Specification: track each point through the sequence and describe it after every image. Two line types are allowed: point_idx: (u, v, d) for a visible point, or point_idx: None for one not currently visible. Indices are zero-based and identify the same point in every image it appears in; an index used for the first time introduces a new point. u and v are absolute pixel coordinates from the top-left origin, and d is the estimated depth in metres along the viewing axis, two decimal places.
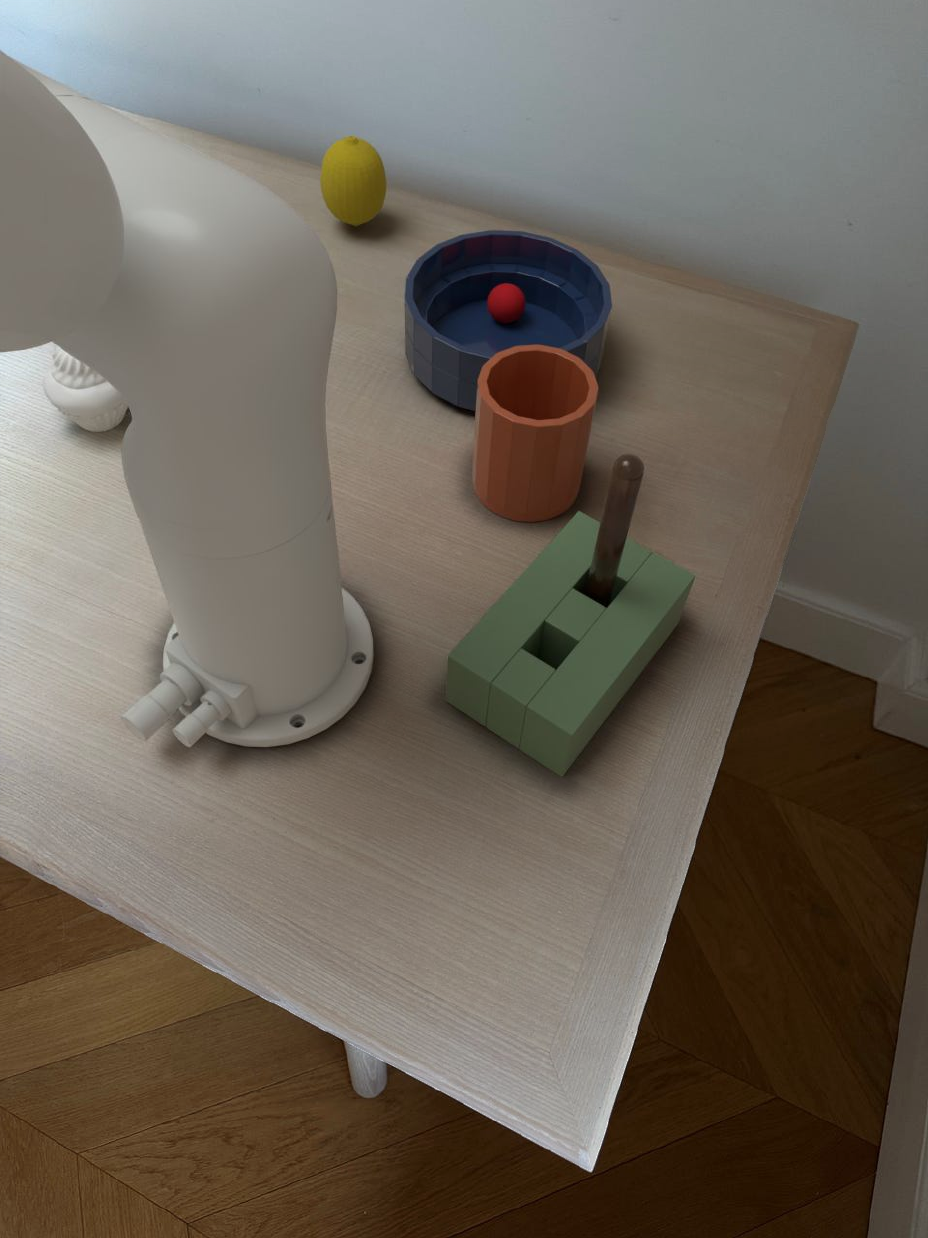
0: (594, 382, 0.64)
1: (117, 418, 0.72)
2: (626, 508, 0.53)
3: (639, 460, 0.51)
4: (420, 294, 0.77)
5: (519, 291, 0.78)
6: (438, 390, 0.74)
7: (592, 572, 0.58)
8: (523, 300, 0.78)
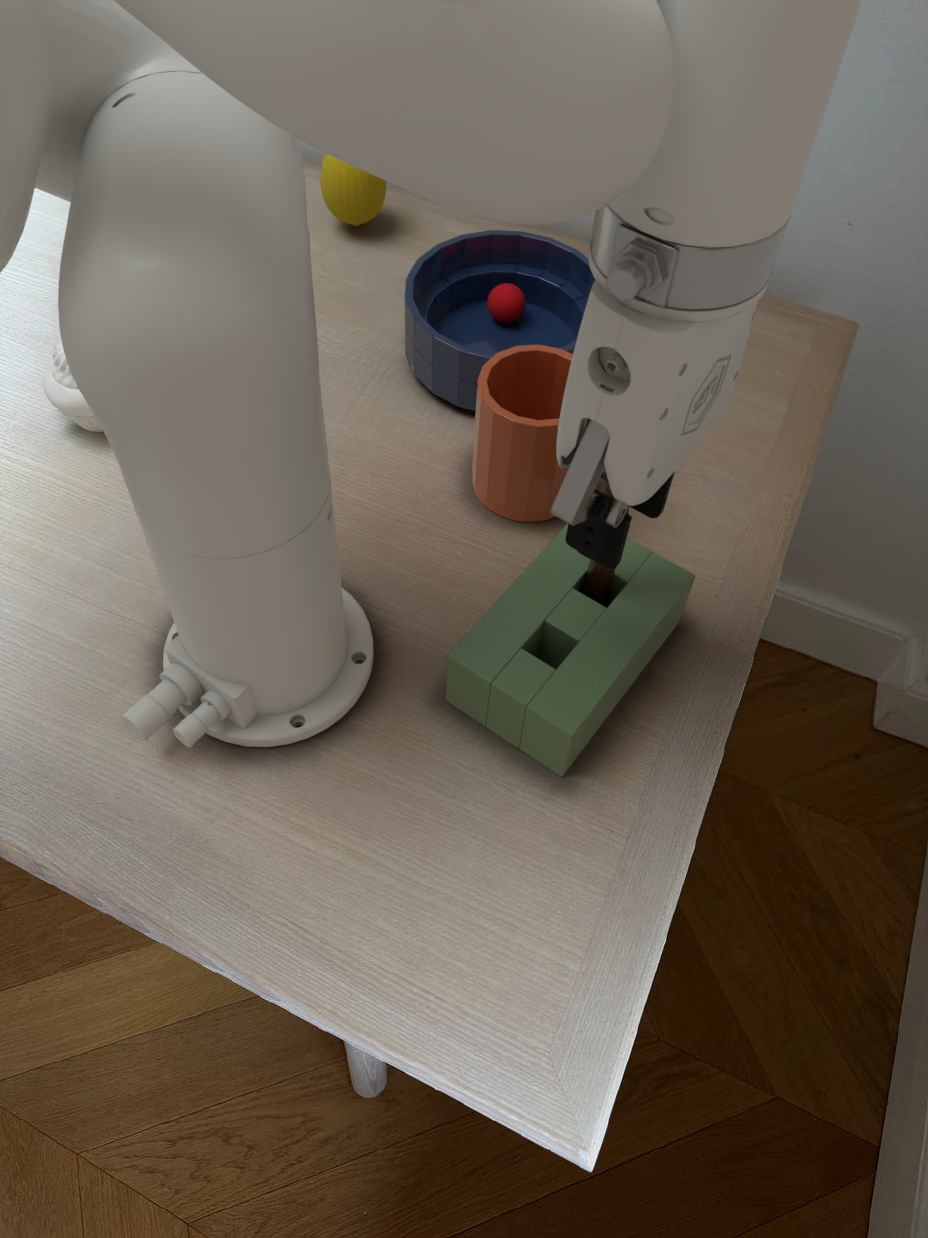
0: None
1: None
2: None
3: None
4: (420, 294, 0.77)
5: (519, 291, 0.78)
6: (438, 390, 0.74)
7: (591, 563, 0.59)
8: (523, 300, 0.78)
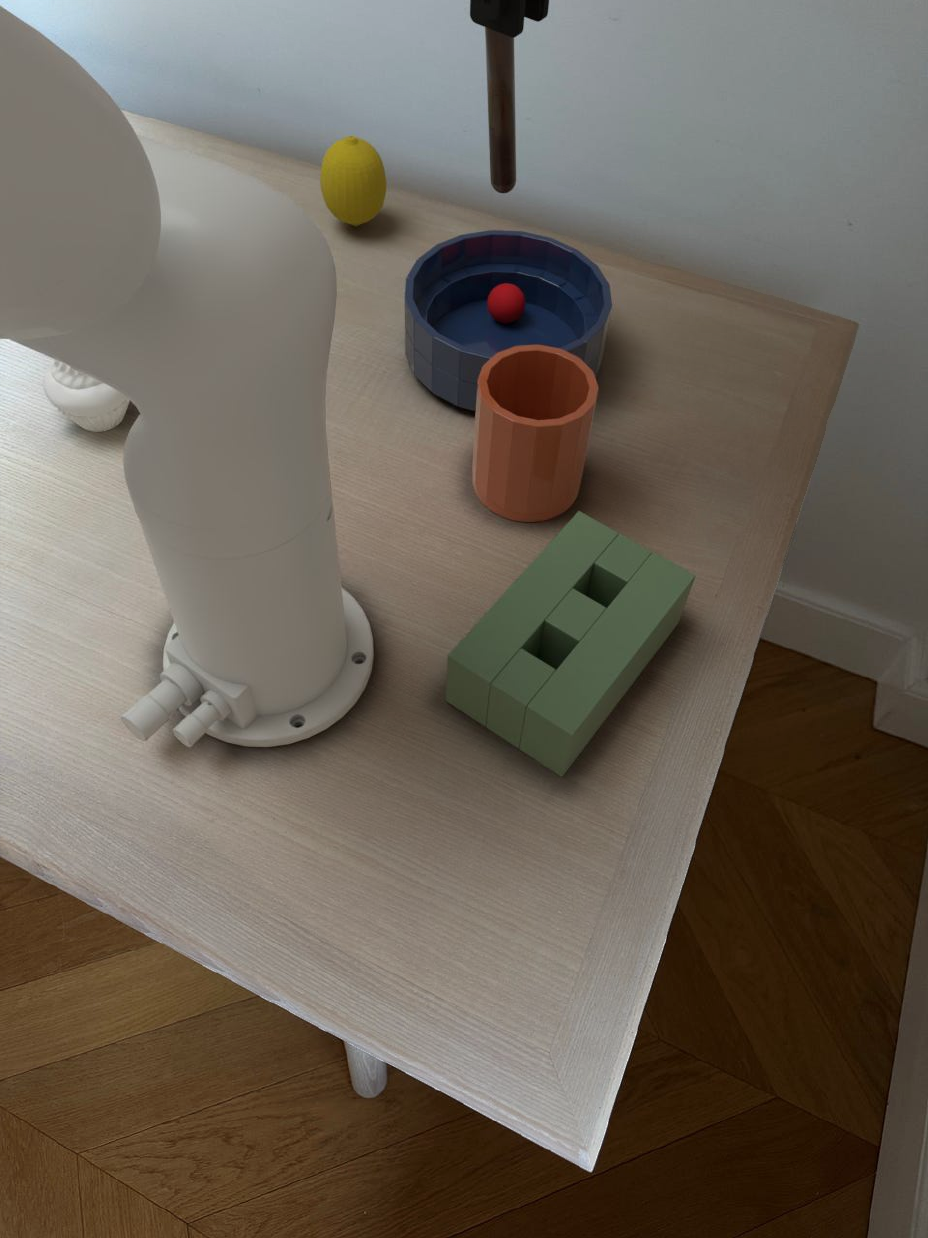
0: (594, 382, 0.64)
1: (117, 418, 0.72)
2: None
3: None
4: (420, 294, 0.77)
5: (519, 291, 0.78)
6: (438, 390, 0.74)
7: (488, 85, 0.58)
8: (523, 300, 0.78)
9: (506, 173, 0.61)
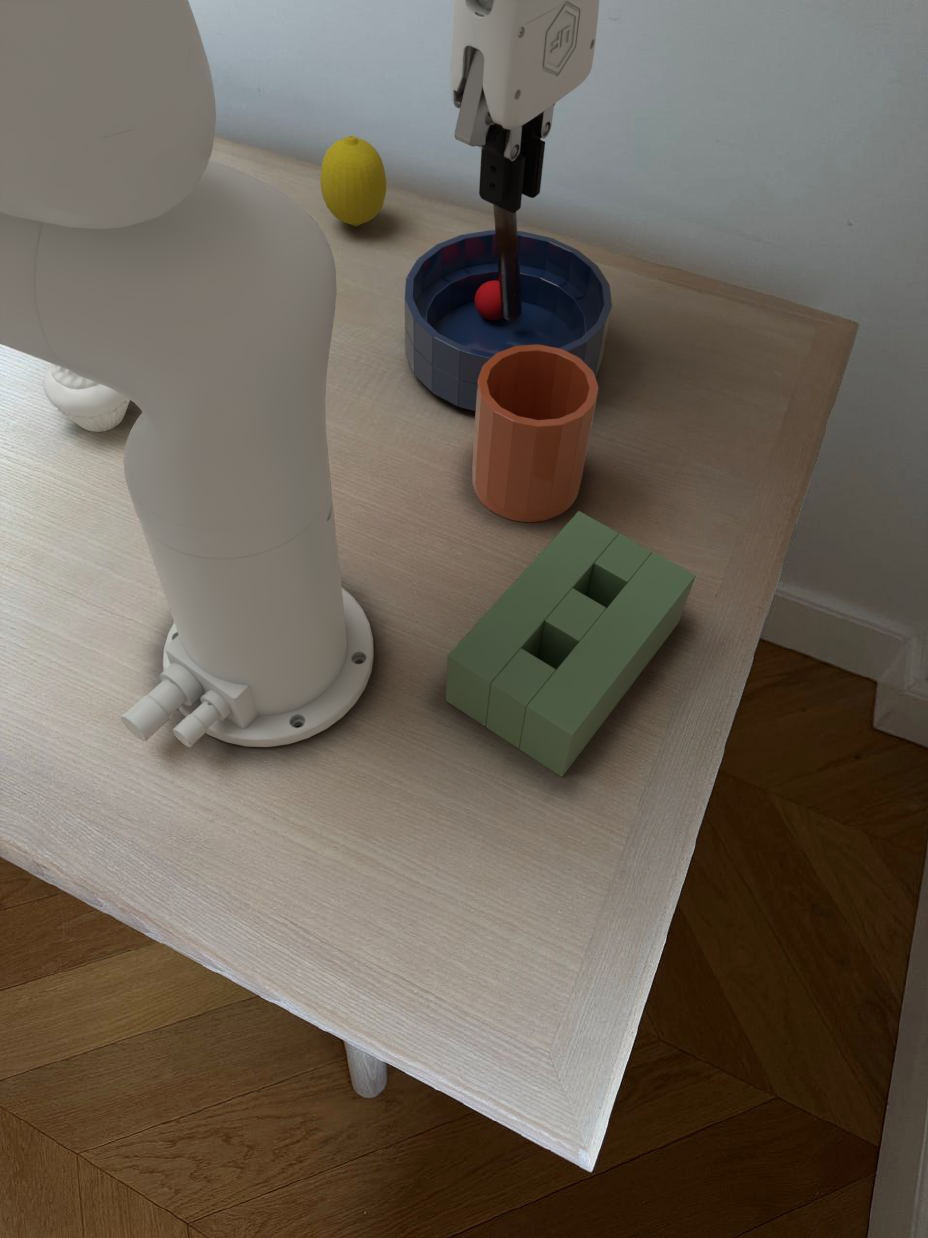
0: (594, 382, 0.64)
1: (117, 418, 0.72)
2: None
3: None
4: (420, 294, 0.77)
5: (495, 282, 0.78)
6: (438, 390, 0.74)
7: (497, 243, 0.73)
8: None
9: (514, 306, 0.77)
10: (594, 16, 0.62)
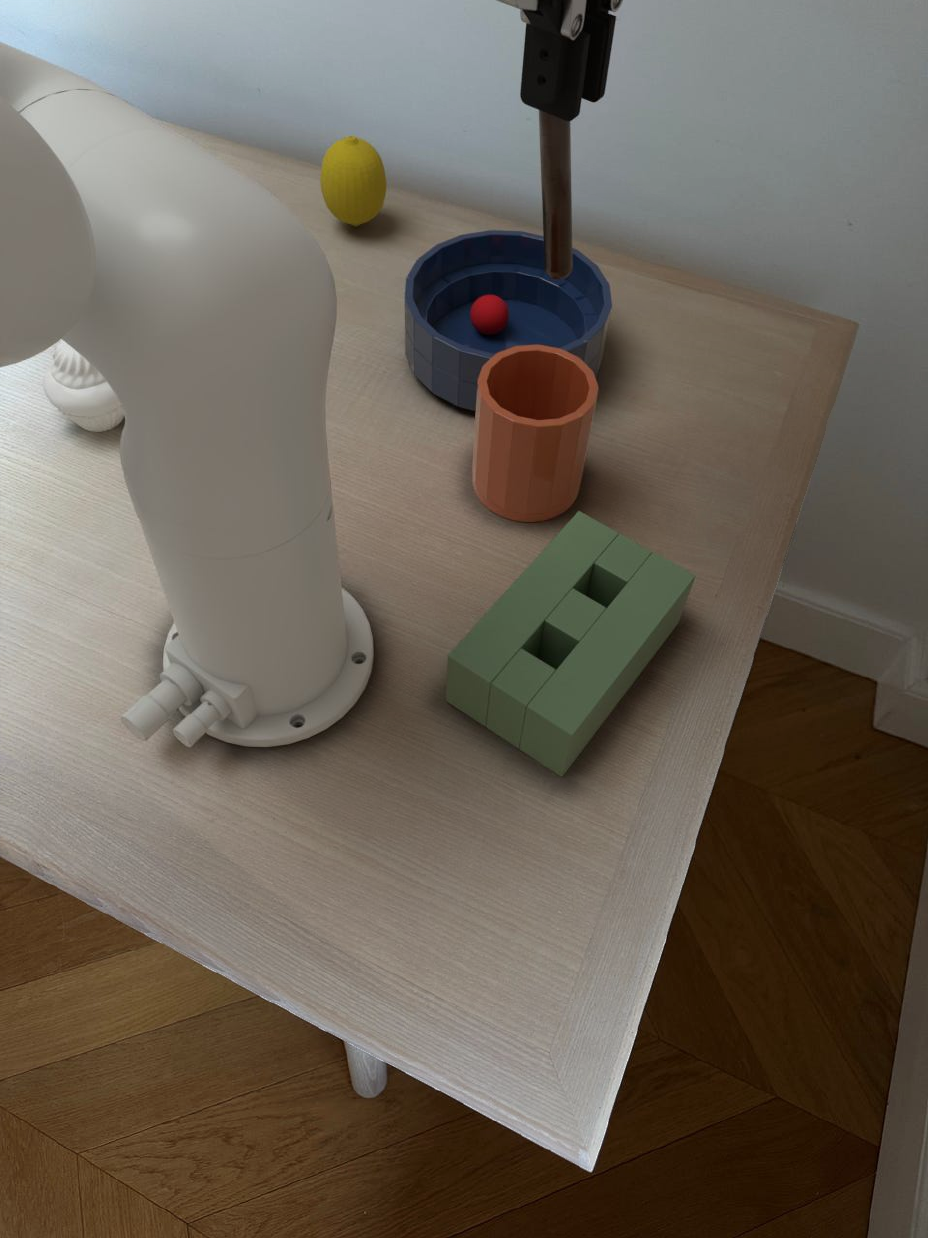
0: (594, 382, 0.64)
1: (117, 418, 0.72)
2: None
3: None
4: (420, 294, 0.77)
5: (485, 313, 0.77)
6: (438, 390, 0.74)
7: (542, 169, 0.53)
8: (489, 322, 0.77)
9: (562, 259, 0.57)
10: None
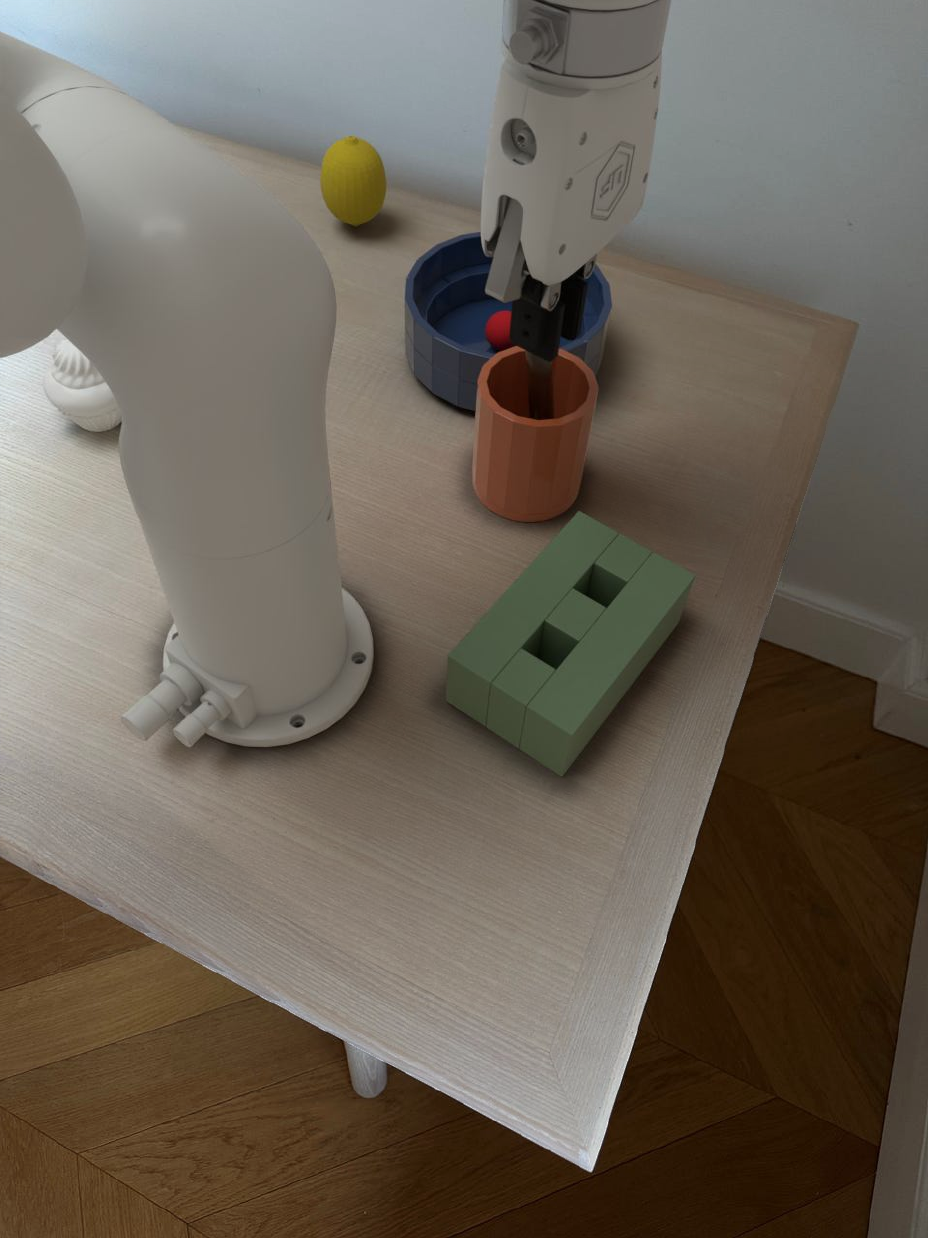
0: (594, 382, 0.64)
1: (117, 418, 0.72)
2: None
3: None
4: (420, 294, 0.77)
5: (501, 348, 0.77)
6: (438, 390, 0.74)
7: (529, 387, 0.64)
8: (499, 350, 0.78)
9: None
10: (649, 149, 0.53)
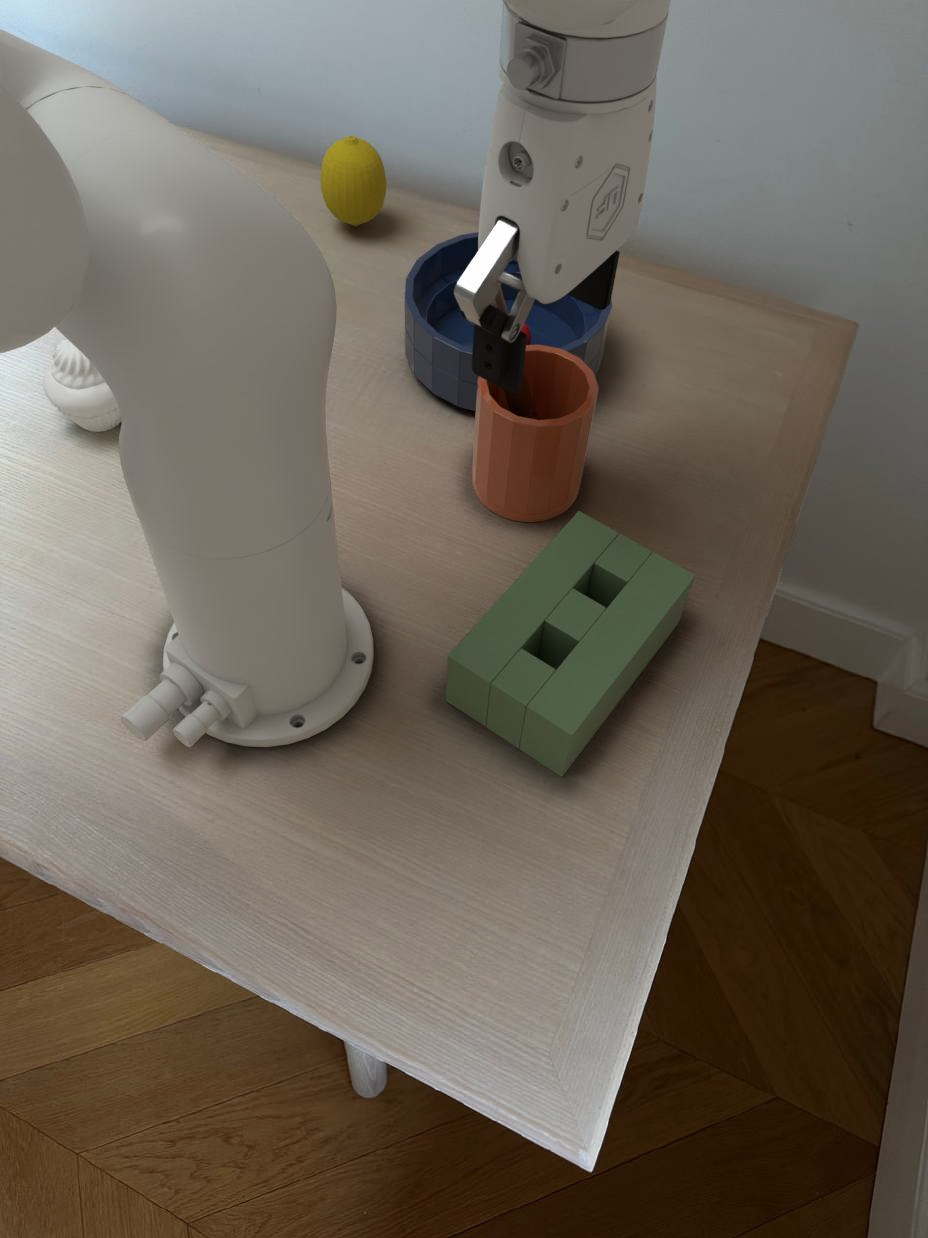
0: (594, 382, 0.64)
1: (117, 418, 0.72)
2: None
3: None
4: (420, 294, 0.77)
5: None
6: (438, 390, 0.74)
7: (508, 402, 0.66)
8: None
9: None
10: (644, 170, 0.54)
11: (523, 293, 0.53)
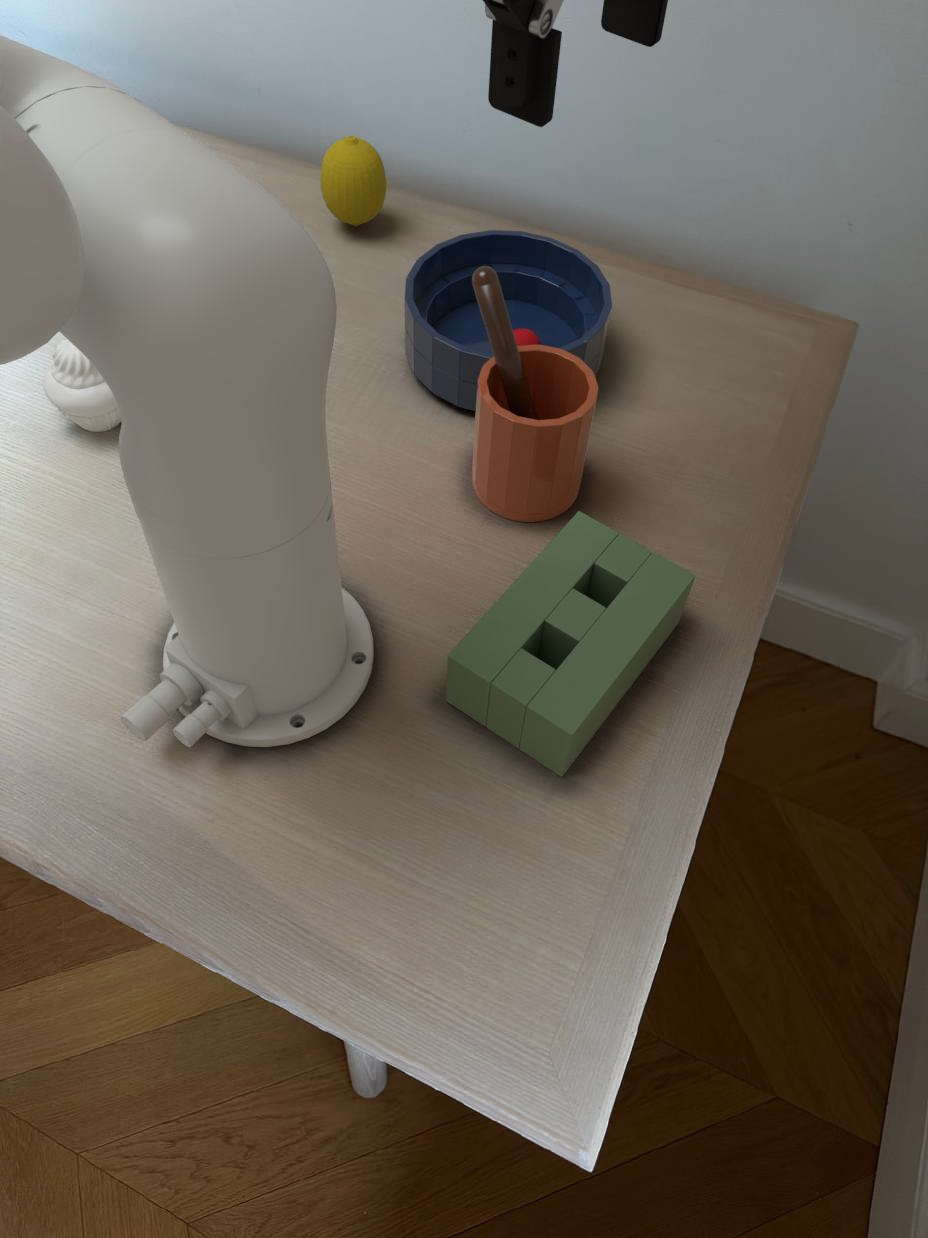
0: (594, 382, 0.64)
1: (117, 418, 0.72)
2: (498, 317, 0.62)
3: (489, 267, 0.61)
4: (420, 294, 0.77)
5: None
6: (438, 390, 0.74)
7: (508, 402, 0.66)
8: None
9: None
10: None
11: None
